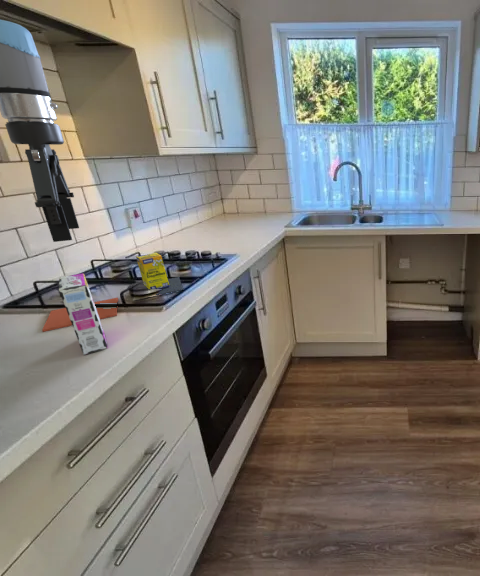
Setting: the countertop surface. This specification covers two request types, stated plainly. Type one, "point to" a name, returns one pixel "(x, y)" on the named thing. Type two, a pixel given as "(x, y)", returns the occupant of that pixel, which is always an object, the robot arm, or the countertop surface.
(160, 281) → the supplement box
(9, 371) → the countertop surface
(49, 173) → the robot arm
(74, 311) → the candy bar box
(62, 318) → the terracotta mat
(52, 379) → the countertop surface
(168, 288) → the slate mat
